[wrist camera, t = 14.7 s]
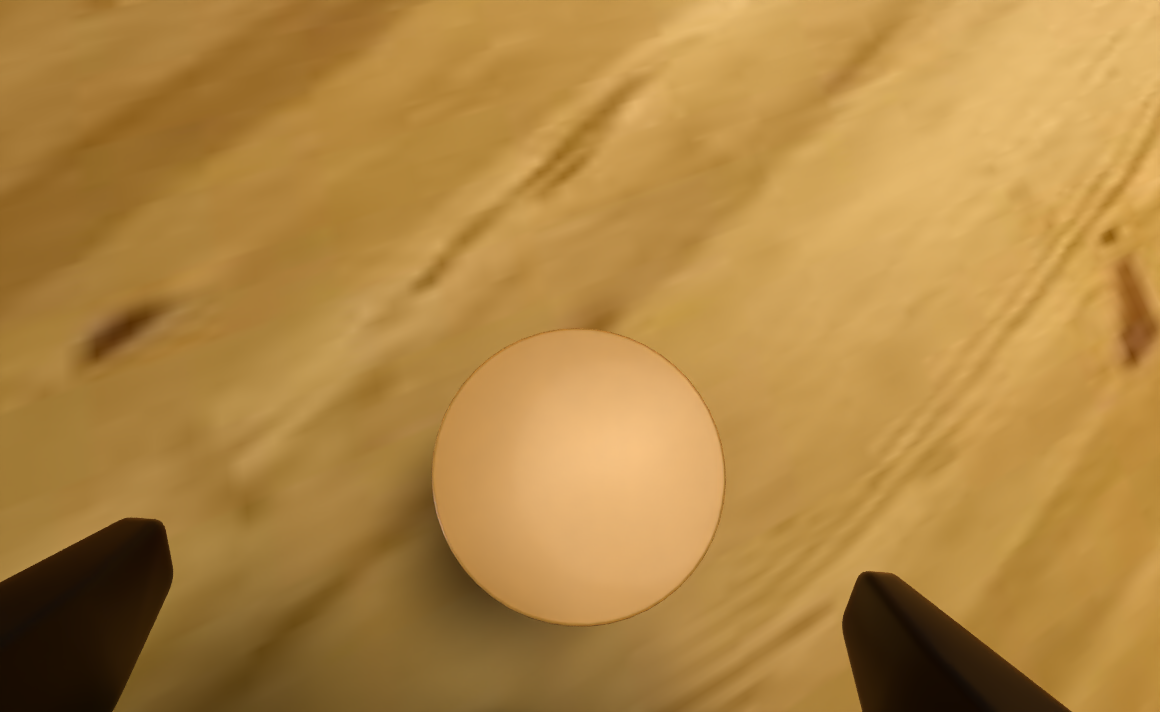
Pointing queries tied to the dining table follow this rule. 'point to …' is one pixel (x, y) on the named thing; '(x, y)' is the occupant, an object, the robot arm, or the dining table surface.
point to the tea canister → (578, 477)
